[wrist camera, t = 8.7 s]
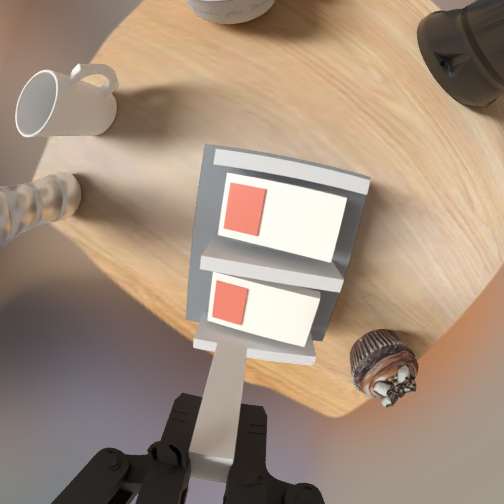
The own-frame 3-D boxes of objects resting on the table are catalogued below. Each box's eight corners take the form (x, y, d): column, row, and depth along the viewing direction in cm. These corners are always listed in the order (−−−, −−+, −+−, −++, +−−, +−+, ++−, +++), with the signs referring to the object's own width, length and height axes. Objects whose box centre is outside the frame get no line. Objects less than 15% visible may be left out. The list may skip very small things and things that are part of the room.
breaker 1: (345, 196, 22) (347, 198, 20) (330, 257, 23) (330, 263, 22) (232, 172, 23) (226, 172, 22) (223, 231, 25) (216, 235, 24)
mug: (88, 147, 28) (23, 151, 17) (73, 109, 27) (11, 102, 15) (148, 102, 27) (92, 80, 15) (130, 64, 25) (75, 33, 13)
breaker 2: (320, 291, 25) (320, 299, 23) (305, 338, 26) (304, 348, 25) (218, 266, 26) (212, 272, 25) (212, 313, 28) (206, 321, 27)
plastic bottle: (92, 209, 31) (-26, 264, 12) (59, 220, 32) (-46, 272, 13) (82, 163, 29) (-43, 187, 10) (50, 178, 30) (-60, 209, 11)
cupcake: (379, 312, 34) (408, 357, 25) (411, 342, 36) (437, 383, 26) (331, 356, 37) (345, 406, 27) (367, 379, 39) (384, 424, 29)
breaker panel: (354, 174, 28) (392, 182, 19) (315, 318, 35) (329, 369, 25) (214, 146, 28) (190, 140, 19) (195, 298, 34) (173, 346, 25)
